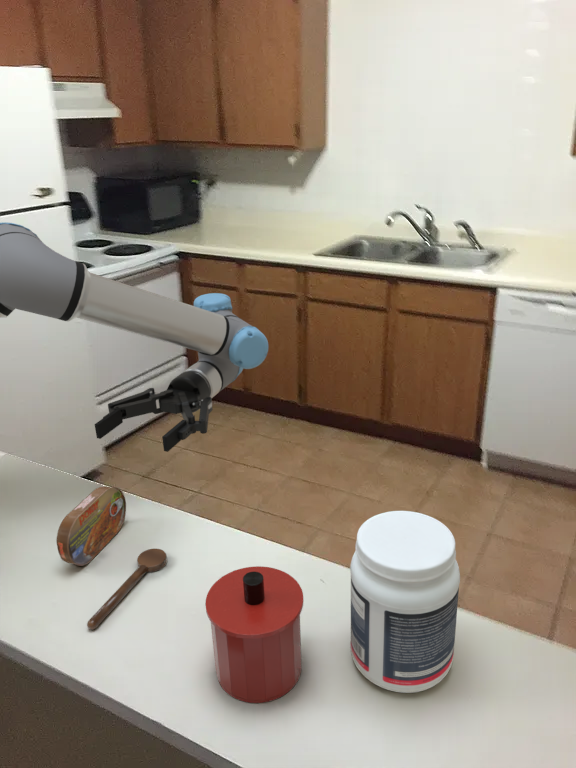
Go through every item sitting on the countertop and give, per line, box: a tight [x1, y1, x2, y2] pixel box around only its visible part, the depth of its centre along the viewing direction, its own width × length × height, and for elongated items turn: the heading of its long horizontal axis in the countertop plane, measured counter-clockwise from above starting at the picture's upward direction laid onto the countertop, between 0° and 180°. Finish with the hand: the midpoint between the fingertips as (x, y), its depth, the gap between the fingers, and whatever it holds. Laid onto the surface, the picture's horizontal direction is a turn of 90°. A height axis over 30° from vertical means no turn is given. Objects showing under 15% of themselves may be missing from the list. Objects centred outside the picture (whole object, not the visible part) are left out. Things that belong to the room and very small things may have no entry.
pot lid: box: [205, 565, 304, 639], centre depth 79 cm, size 12×12×4 cm
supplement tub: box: [349, 510, 461, 694], centre depth 81 cm, size 13×13×18 cm
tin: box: [55, 486, 127, 567], centre depth 106 cm, size 15×3×8 cm, turn 160°
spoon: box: [86, 548, 168, 631], centre depth 97 cm, size 17×4×1 cm, turn 157°
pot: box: [210, 614, 302, 704], centre depth 82 cm, size 11×11×10 cm
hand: (130, 437), depth 112 cm, fingers open, 13 cm apart
